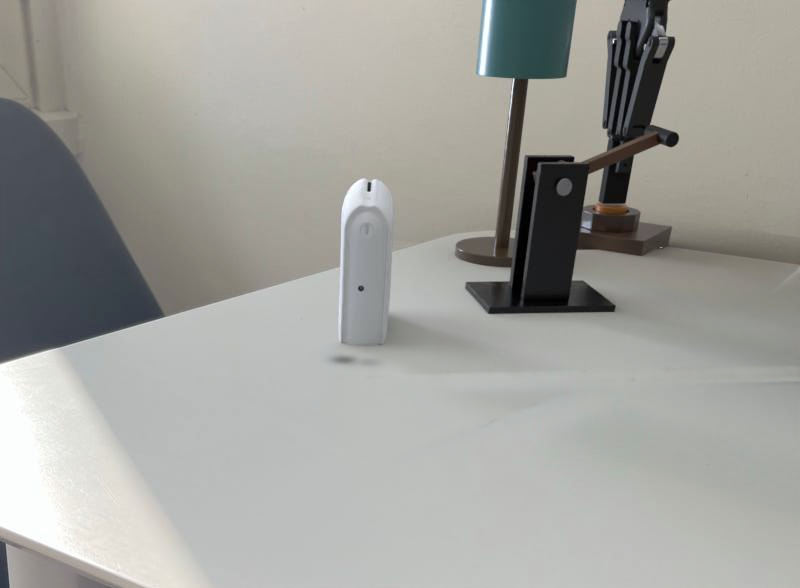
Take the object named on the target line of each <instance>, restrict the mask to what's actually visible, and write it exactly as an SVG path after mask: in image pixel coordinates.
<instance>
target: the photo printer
mask: <svg viewBox="0 0 800 588" xmlns="http://www.w3.org/2000/svg"><path fill="white" fill-rule="evenodd" d="M340 217H341V218H340V219H341V220H340V261H339V262H340V263H339V264H340V265H339V267H340V268H339V295H338V297H339V299H338V320H337V325H338V327H337V328H338V329H337V330H338V331H337V332H338V340H339V342H340V344H348V345H352V346H362V347H364V346H365V347H366V346H367V347H369V346H375V345H384V343H385V342H386V340H387V333H388V325H389V313H390V299H391V287H392V265H393V264H392V263H393V245H394V244H393V243H394V242H393V241H394V225H395V205H394V198H393V195H392V193H391V191H390V189H389V188H388V187H387V185H386V184H385V183H384V182H383V181H381V180H380V179H378V178H374V179H372V180H371V181H370V180H368V179H367V178H365V177H364V178H360V179H358V180H357V181H356V182H355V183H353V184H352V185H351V186H350V188H349V189H348V190H347V191H346V194H345V196H344V200H343V203H342V207H341V216H340Z"/></svg>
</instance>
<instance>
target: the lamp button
mask: <svg viewBox="0 0 800 588" xmlns="http://www.w3.org/2000/svg"><path fill="white" fill-rule="evenodd" d="M595 205H596V206H595V211H597V212H602V213H613V214H621V213H627V208H628V207H629V206H628V205H627V204H602V203H601V202H599V201H598V202H597V203H595Z"/></svg>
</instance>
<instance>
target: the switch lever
mask: <svg viewBox="0 0 800 588" xmlns="http://www.w3.org/2000/svg"><path fill="white" fill-rule="evenodd" d="M679 141H680V135H679V133H677V132H676V131H673V130H670V129H667V128H663V127H661V126H657V125H655V124H650V125H649V126H648V127H647V128H646V129H645V131H644V136H641V137H639V138H637V139H634V140H632V141H630V142H627V143H625V144H623V145H620V146H618V147H615V148H613V149H611V150H608V151H607V150H606V151H604V152H601V153H599V154H597V155H594V156H592V157H590V158H587V159H584V160H582V161H581V162H586V163H589V164H590V167H589V173H588V175H591V174H593V173H595V172H598V171H600V170H602V169H604V168H605V167H607V166H610V165H612V164H614V163H617V162H619V161H621V160H624V159H626V158H628V157H631V156H633V155H634V156H635V155H637V154H640V153H642V152H645V151H647V150H650V149H652V148H654V147H658V146H659V145H662V146H665V147H667V148H674V147H676V146H677V145H678V143H679ZM558 162H565V161H563V160H560V161H558ZM536 175H537V170H536V171H534V172H533V177H534V181H535V183H536Z"/></svg>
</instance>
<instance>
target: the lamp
mask: <svg viewBox="0 0 800 588" xmlns="http://www.w3.org/2000/svg"><path fill="white" fill-rule="evenodd" d="M577 2H578V0H482V2H481V14H480V25H479V34H478V45H477V46H478V47H477V58H476V67H475V74H476V75H478V76H482V77H489V78H499V79H511V89H510V97H509V105H508V115H507V124H506V132H505V144H504V151H503V160H502V170H501V178H500V179H501V180H500V189H499V197H498V206H497V216H496V225H495V233H494V236H478V237H477V236H476V237H470V238H469V237H468V238H463V239H461V240H459V241H457V242H456V243H455V246H454V247H455V248H454V256H455V257H456V258H457V259H458V260H461V261H463V262H466V263H470V264H474V265H480V266H486V267H495V268H511V266H512V257H513V249H514V241H515V237H511V232H512V231H511V230H512V222H513V216H514V215H513V214H514V206H515V197H516V190H517V189H516V187H517V181H518V171H519V164H520V163H519V162H520V156H521V155H520V154H521V146H522V139H523V138H522V137H523V131H524V130H523V129H524V120H525V113H526V112H525V111H526V104H527V95H528V86H529V80H555V79H557V80H558V79H565V78H567V77H568V69H569V63H570V62H569V61H570V54H571V47H572V39H573V34H574V33H573V31H574V27H575V26H574V25H575V18H576V11H577Z"/></svg>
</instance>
